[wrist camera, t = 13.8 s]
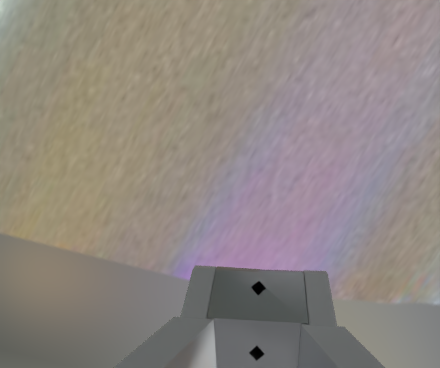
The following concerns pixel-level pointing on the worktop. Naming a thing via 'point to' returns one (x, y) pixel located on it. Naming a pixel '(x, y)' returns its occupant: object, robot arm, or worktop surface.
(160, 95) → the worktop surface
